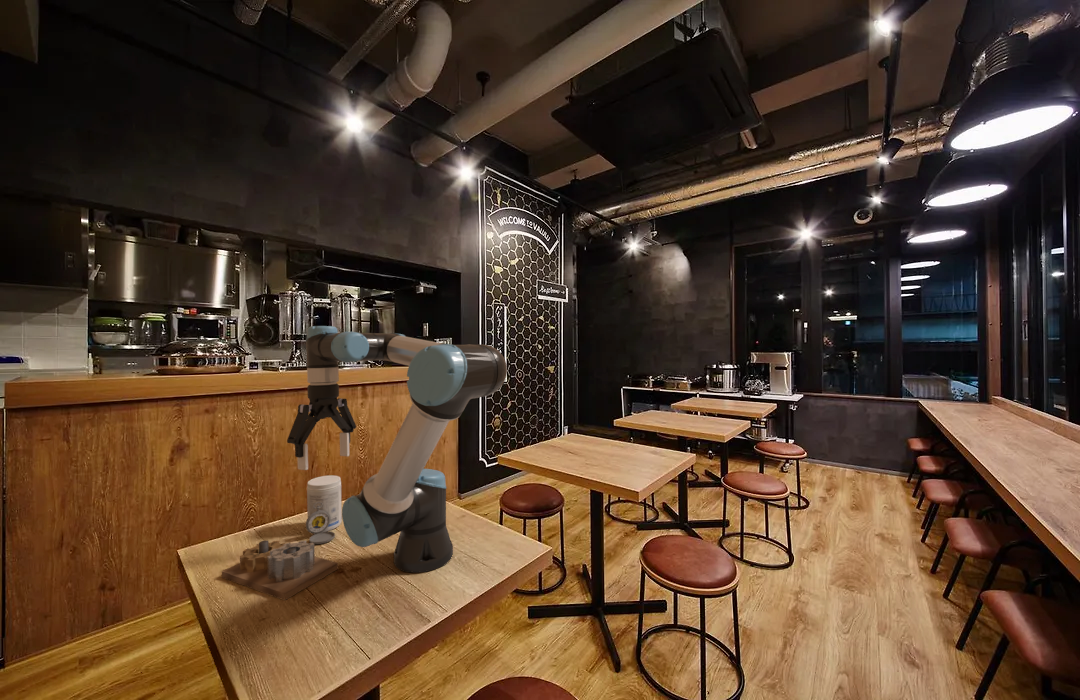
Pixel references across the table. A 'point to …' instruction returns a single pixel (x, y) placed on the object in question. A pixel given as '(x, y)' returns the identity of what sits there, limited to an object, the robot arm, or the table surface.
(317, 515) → the pocket watch
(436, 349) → the robot arm
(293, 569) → the steel gear
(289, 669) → the table surface
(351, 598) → the table surface
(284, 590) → the gear board
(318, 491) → the supplement tub
